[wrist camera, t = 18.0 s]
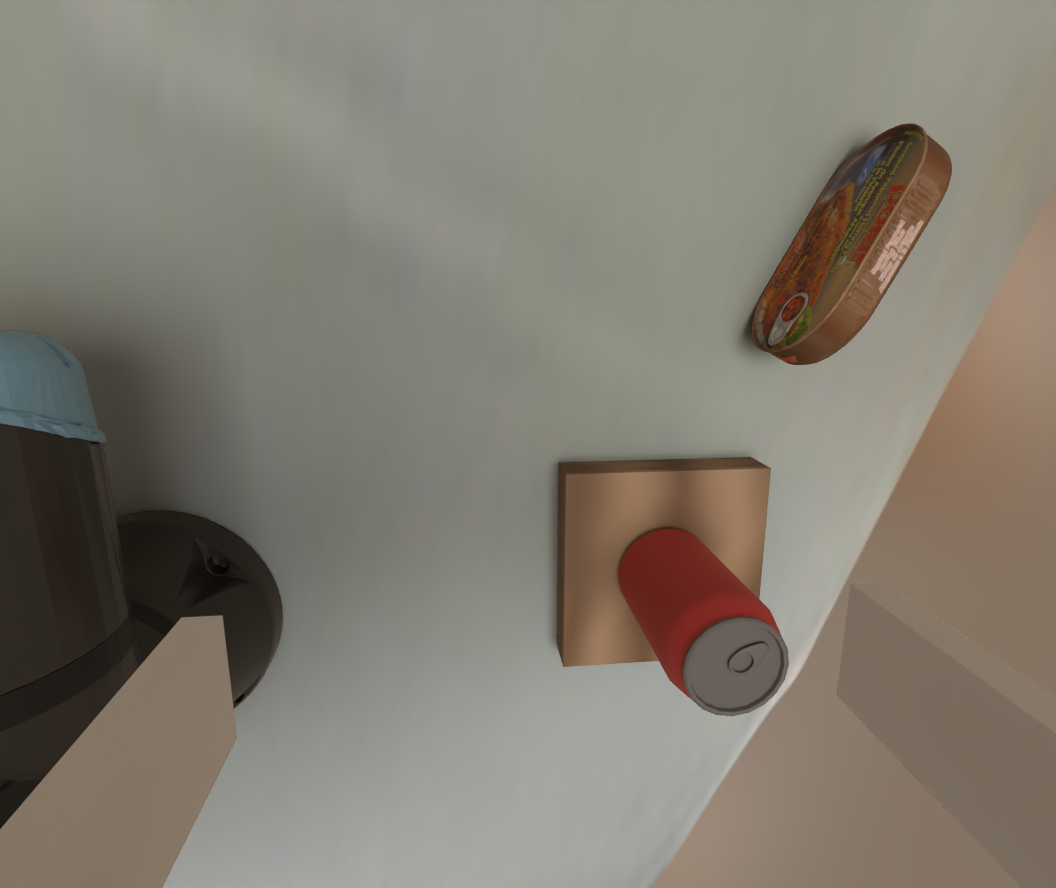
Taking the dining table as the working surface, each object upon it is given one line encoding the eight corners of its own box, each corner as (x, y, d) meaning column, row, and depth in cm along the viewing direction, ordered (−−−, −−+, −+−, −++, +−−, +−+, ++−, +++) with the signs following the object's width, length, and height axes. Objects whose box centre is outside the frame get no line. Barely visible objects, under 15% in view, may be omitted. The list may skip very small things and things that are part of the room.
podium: (556, 644, 48) (563, 666, 45) (558, 462, 44) (565, 474, 42) (736, 633, 49) (754, 654, 46) (750, 457, 46) (770, 468, 43)
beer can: (726, 576, 45) (822, 675, 33) (650, 631, 45) (717, 749, 33) (676, 506, 43) (758, 584, 31) (597, 563, 43) (649, 662, 32)
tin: (852, 138, 42) (948, 100, 34) (888, 164, 42) (992, 133, 34) (731, 342, 44) (794, 353, 36) (768, 364, 45) (837, 379, 36)
